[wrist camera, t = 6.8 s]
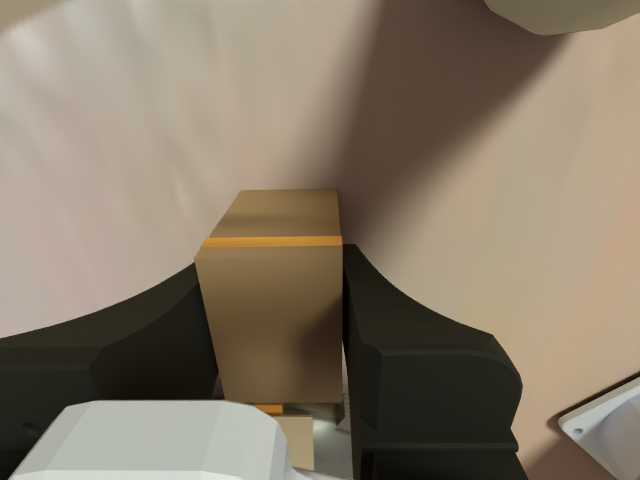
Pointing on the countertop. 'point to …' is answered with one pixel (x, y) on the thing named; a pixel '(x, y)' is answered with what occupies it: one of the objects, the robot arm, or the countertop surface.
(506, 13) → the salt shaker
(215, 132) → the countertop surface
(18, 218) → the countertop surface
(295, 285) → the link block
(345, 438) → the sprocket
